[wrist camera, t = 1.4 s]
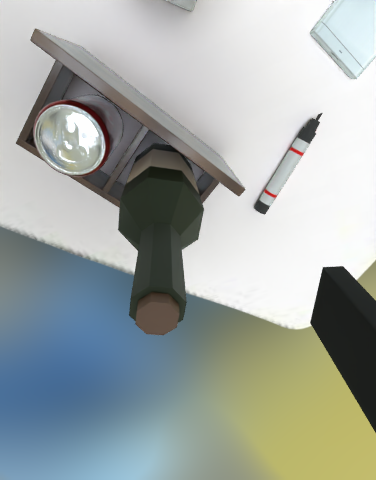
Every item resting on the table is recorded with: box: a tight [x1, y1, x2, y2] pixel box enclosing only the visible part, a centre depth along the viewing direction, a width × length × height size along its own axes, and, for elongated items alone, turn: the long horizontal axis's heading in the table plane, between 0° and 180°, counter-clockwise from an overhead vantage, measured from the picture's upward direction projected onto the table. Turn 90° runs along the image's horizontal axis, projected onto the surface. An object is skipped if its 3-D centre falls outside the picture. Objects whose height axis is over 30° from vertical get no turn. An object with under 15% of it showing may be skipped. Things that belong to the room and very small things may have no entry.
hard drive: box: [310, 0, 376, 79], centre depth 35 cm, size 2×8×12 cm
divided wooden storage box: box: [16, 29, 245, 208], centre depth 35 cm, size 22×12×14 cm, turn 53°
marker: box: [254, 113, 322, 214], centre depth 43 cm, size 15×2×2 cm, turn 154°
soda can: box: [33, 95, 123, 177], centre depth 34 cm, size 7×7×12 cm
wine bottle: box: [118, 143, 204, 335], centre depth 30 cm, size 8×8×30 cm
